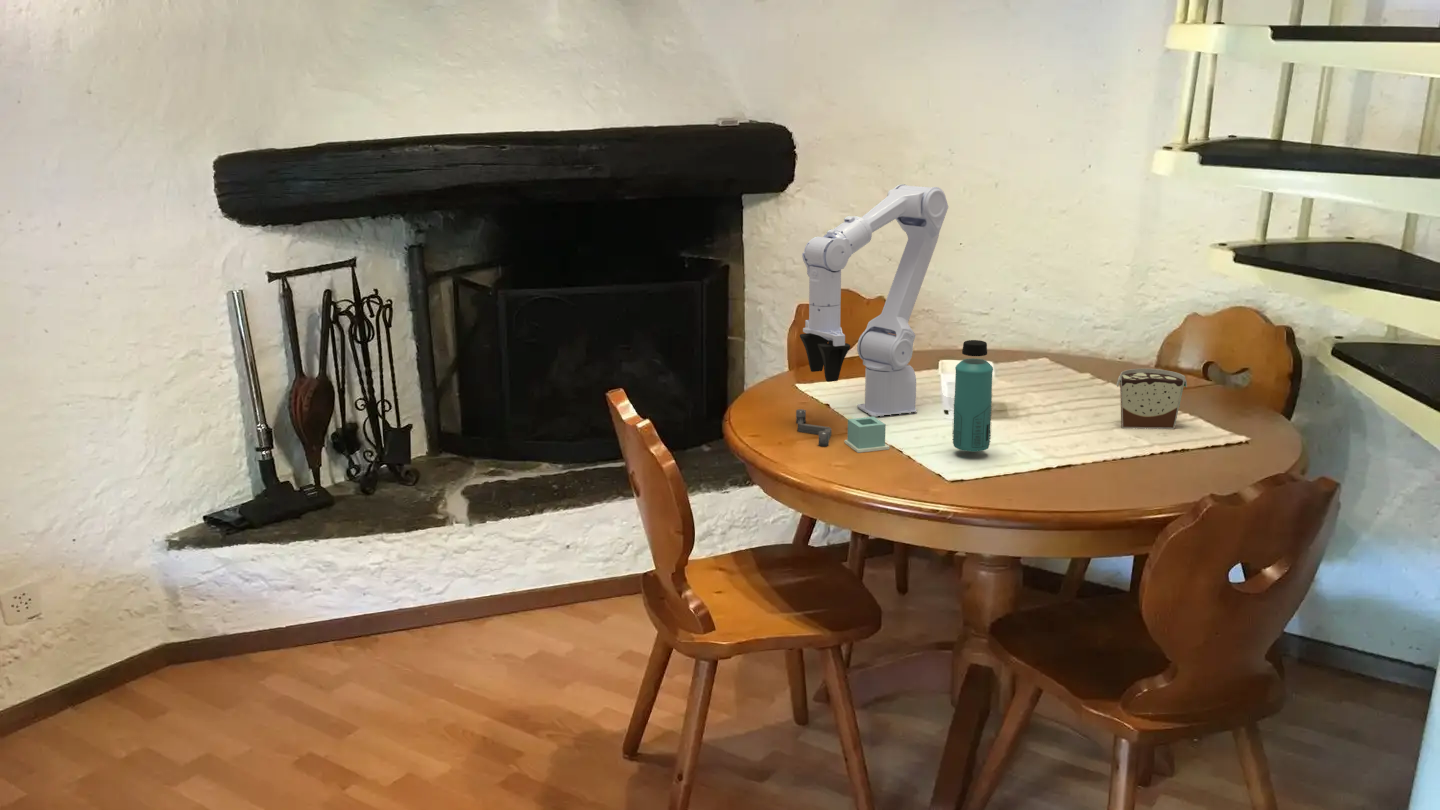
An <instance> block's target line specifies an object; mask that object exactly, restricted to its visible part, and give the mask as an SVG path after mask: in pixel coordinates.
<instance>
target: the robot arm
mask: <svg viewBox="0 0 1440 810" xmlns="http://www.w3.org/2000/svg"><path fill="white" fill-rule="evenodd" d="M948 209H949V205H948V201H947V197H946V194H945V192H944V190H943V189H942V188H941V187H939V186H931V187H929V186H920V185H919V186H918V185H908V184H904V183H903V184H901V183H900V184H898V185H896V186H895V187H894V188H891V189H889V190H887V195H886V197H885V198H884V199H882V200H880V202H878V203H877V204H876V205H875V206H874V207H872V208H871V209H870V210H869V211H868V212H865V214H863V215H862V216H857V215H847V216H846V217H844V219H843V222H842V223H840V224H839V225H837V226H836V227H834V228H832V229H829V230H827V232H826V234H824V235H823V236H815V237H812V238H811V239H810V240H808V242H807V243H806V245H805V247H804V250H803V252H802V254H801V256H802V257H801V258H802V262H803V264H804V265H805V267H806V274H807V277H808V278H809V279H808V285H809V286H808V290H809V291H808V292H809V293H808V294H809V296H808V304H809V305H808V309H809V310H808V315H809V316H808V319H805V322H804V323H805V325H804V327H803V328H802V333H800V335H799V338H800V340H801V342H802V343H803V346H804V349H805V352H806V356H807V361H808V366H809V369H810V372H811V373H815V372H823V371H824V373H823V374H824V378H825V382H828V383H830V382H838V381H839V378H840V375H841V370H842V366H843V363H844V360H845V358H846V356H847V354H848V352H849V351H850V349H851V344H849V343H847V342H846V334H845V333H843V329H842V328H843V327H841V301H842V300H841V299H842V298H841V297H842V270H843V269H845V267H846V266H847V264H848V261H849V259H850V258H851V257H852V255H854V253H856V252H858V251H859V250H860V249H862V248H863V247H865V246H866V245H867V244H868V243H870V242H871V241H872V236H873V233H874V232H876V231H877V230H879V229H881V228H883V227H884V226H887V225H888V224H889V223H891V222H893V221H895V220H896V221H897V223H898V225H899V226H900V228H901V229H902V231H903V232H905V233H906V236H907V241H906V243H905V247H904V249H903V253H902V255H901V258H900V260H899V263H898V267H897V270H896V271H895V274H894V278H893V280H892V284H891V286H890V288H889V291H888V295H887V297H886V300H885V302H884V306H883V308H882V311H881V313H880V314H879V315H877V316H876V317H874V318H872V319H871V320H869V321H868V323H867V325H866V328H865V330H864V331H863V332H862V333H861V334H860V336H859V338H858V341H857V344H856V346H857V348H856V349H857V354H858V357H859V358H860V359H861V360H862V365H863V366H865V374H864V375H865V379H864V381H865V382H864V383H865V384H864V403H859V404H858V403H857V404H856V407H857V408H858V409H860V410H861V411H862V412H865V413H866V414H867V413H868V414H867V415H869V416H870V415H871V416H870V417H875V418H877V417H876V416H880V417H885V416H884V415H890V416H892V415H891V414H899V415H902V414H901V413H909V414H911V413H910V412H916V411H917V412H918V410H917V409H916V403H917V402H916V400H917V399H916V398H917V375H916V372H915V370H914V368H913V366H911V365H910V364H909V363H910V361H911V360H912V357H913V350H914V342H915V338H916V334H915V331H914V330H913V329H912V327H911V325H910V323H909V321H910V318H911V316H912V313H913V311H914V307H915V304H916V302H917V300H918V296H919V293H920V290H921V288H922V284H923V282H924V279H925V276H926V274H927V271H928V268H929V265H930V262H931V260H932V257H933V255H934V251H935V249H936V246H937V243H938V240H939V236H940V232H941V229H942V226H943V223H944V220H945V217H946V214H947V212H948ZM917 412H916V413H917Z"/></svg>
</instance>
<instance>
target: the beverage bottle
mask: <svg viewBox="0 0 1440 810" xmlns="http://www.w3.org/2000/svg"><path fill="white" fill-rule="evenodd" d="M962 343H963V345H962V349H961V351H962V352H961V353H962V355H965V356H969V357H982V356H983V357H985V356H986V355H988V343H987V342H986V341H984V340H980V339H979V340H978V339H968V340H964V341H963V342H962ZM954 370H955V377H954V378H955V379H954V397H953V401H954V402H953V404H952V405H953V411H952V412H953V413H952V414H953V424H952V431H951V432H952V434H951V436H952V438H951V439H952V440H951V441H952V445H953V447H954V448H955V449H957V450H960V451H964V452H983V451H986V450H988V449H989V447H990V445H991V439H992V435H991V426H992V422H991V421H992V412H993V407H992V403H993V395H994V394H993V371H994V367H993V366H992V364H991V363H989V362H988V361H987V360H986V359H984V358H983V359H982V358H964V359H962V360H961V361H959V363H957V364H956V365H955V369H954Z"/></svg>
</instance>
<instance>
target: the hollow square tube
mask: <svg viewBox="0 0 1440 810" xmlns="http://www.w3.org/2000/svg"><path fill="white" fill-rule="evenodd" d="M846 440H847V441H849V442H850V443H851V444H853V445H854V446H855V447H857V448H858V449H863V448H872V447H881V446H885V444H886V423H884V422H883V421H882V420H879V419H878V417H872V416H867V417H858V418H857V417H855V418H848V419H847V439H846Z"/></svg>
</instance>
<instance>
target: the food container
mask: <svg viewBox="0 0 1440 810" xmlns="http://www.w3.org/2000/svg"><path fill="white" fill-rule="evenodd" d="M1116 387H1117V388H1118V387H1120V388H1119V391H1120V394H1119V395H1120V427H1121V429H1133V428H1135V429H1136V428H1137V429H1138V430H1139V429H1143V430H1144V429H1145V428H1146V430H1147V428H1148V430H1151V429H1152V430H1156V429H1157V428H1158V429H1157V430H1175V429H1176V422H1177V419H1178V414H1179V409H1180V405H1181V400H1182V395H1183V390H1184V388H1188V383H1187V378H1186V376H1185V375H1184V374H1181V373H1179V372H1175V371H1172V370H1171V371H1170V370H1165V369H1157V368H1131V369H1125V370H1123V371H1121V372H1120V375H1119V376H1118V378H1117V382H1116Z"/></svg>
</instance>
